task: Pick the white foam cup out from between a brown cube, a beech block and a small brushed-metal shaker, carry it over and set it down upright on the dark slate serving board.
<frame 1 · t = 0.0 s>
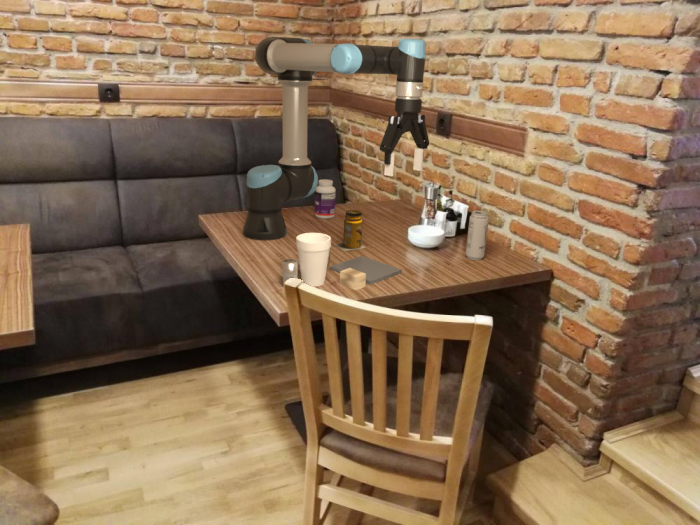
hand: (403, 172, 164), 28 cm above the table, fingers open, 13 cm apart
slate board: (365, 271, 165), on the table
metal shaker: (290, 285, 152), on the table
condiment: (349, 247, 186), on the table
pill bottle: (324, 217, 220), on the table
energy drink can: (474, 258, 180), on the table
foam cup: (313, 282, 155), on the table
brown cube: (318, 266, 167), on the table
beech block: (352, 285, 154), on the table
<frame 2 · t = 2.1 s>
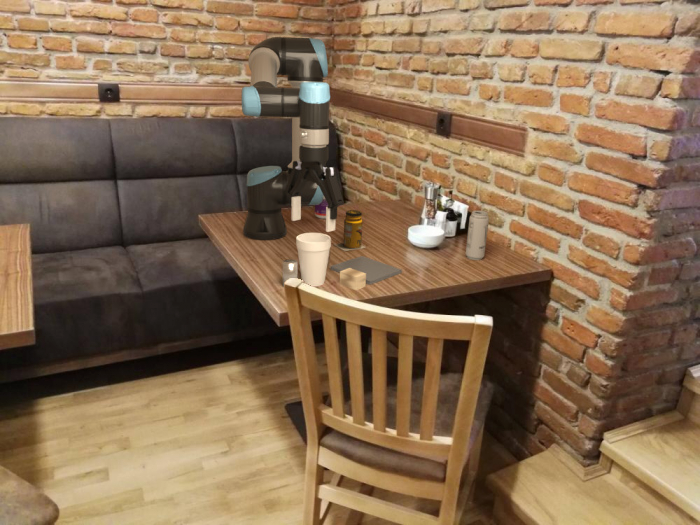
hand: (312, 225, 149), 17 cm above the table, fingers open, 13 cm apart
nothing on the table moved.
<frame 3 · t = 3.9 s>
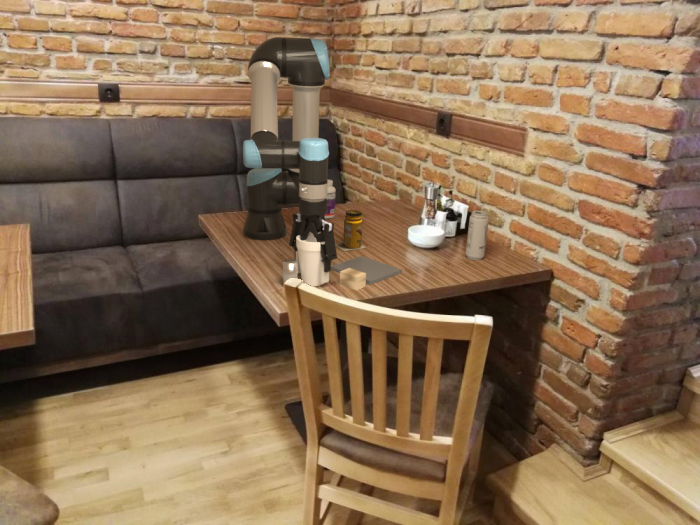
hand: (312, 277, 155), 2 cm above the table, fingers closed on foam cup, 9 cm apart
foam cup: (313, 282, 155), on the table, touching gripper
everything else where it was.
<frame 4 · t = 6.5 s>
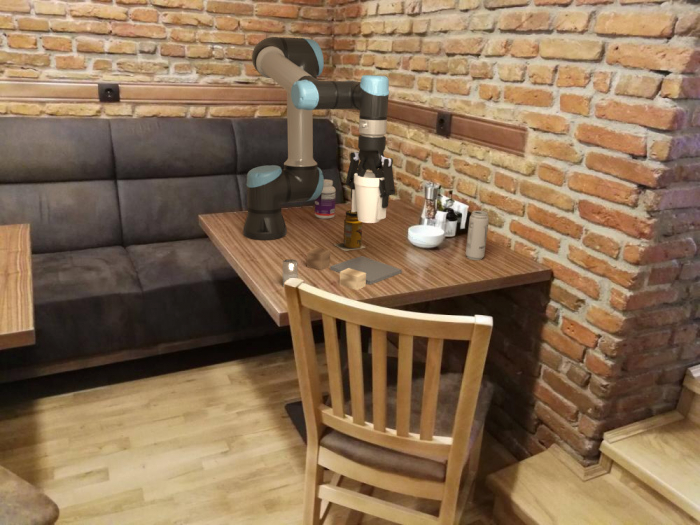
hand: (368, 214, 159), 17 cm above the table, fingers closed on foam cup, 9 cm apart
foam cup: (368, 220, 160), point 16 cm above the table, touching gripper
everything else where it was.
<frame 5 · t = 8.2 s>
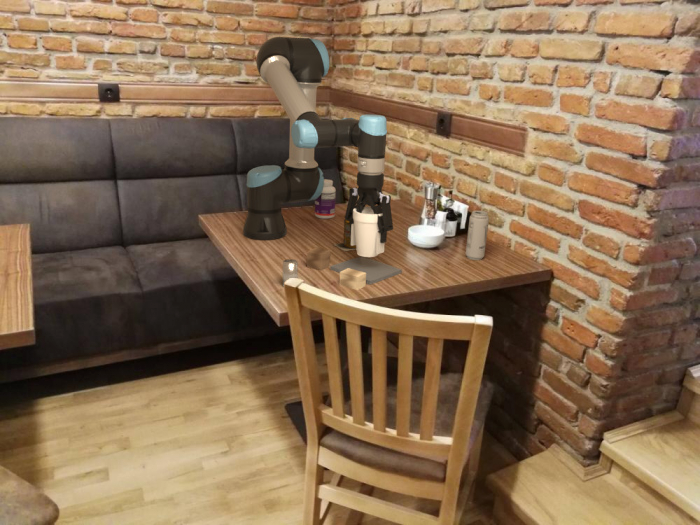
hand: (367, 248, 162), 7 cm above the table, fingers closed on foam cup, 9 cm apart
foam cup: (367, 254, 163), point 5 cm above the table, touching gripper
everything else where it was.
when the fingers open (4 cm above the table, at t = 9.4 s): foam cup drops 1 cm, resting on slate board.
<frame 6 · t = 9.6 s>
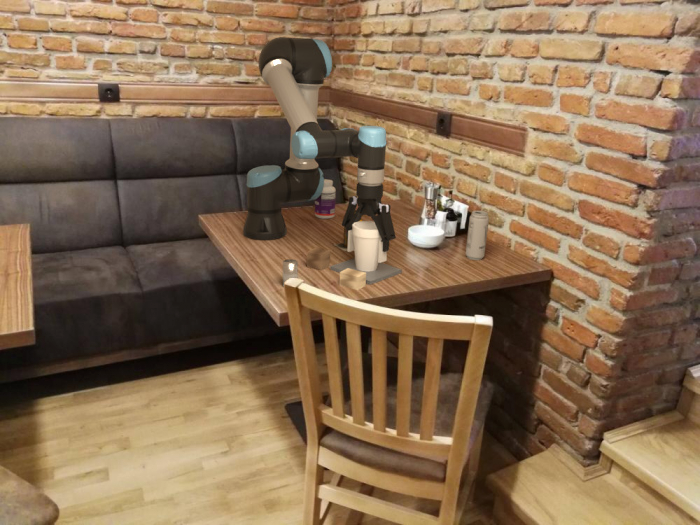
hand: (366, 256, 163), 5 cm above the table, fingers open, 11 cm apart
foam cup: (366, 267, 165), point 1 cm above the table, touching slate board
everything else where it was.
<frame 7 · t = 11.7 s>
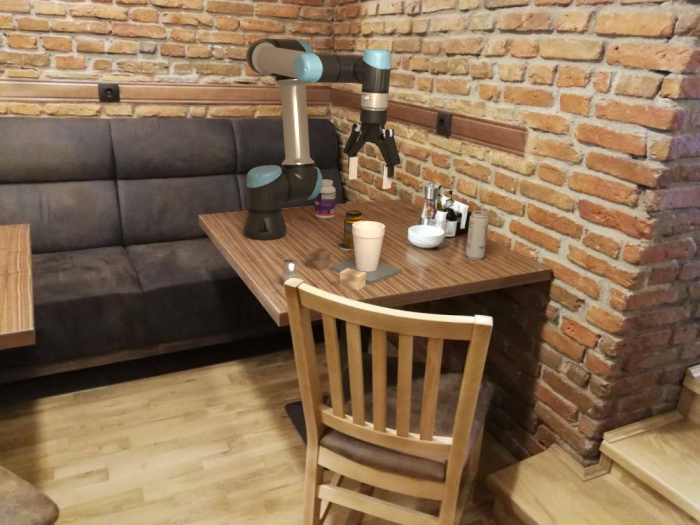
hand: (369, 183, 162), 25 cm above the table, fingers open, 13 cm apart
nothing on the table moved.
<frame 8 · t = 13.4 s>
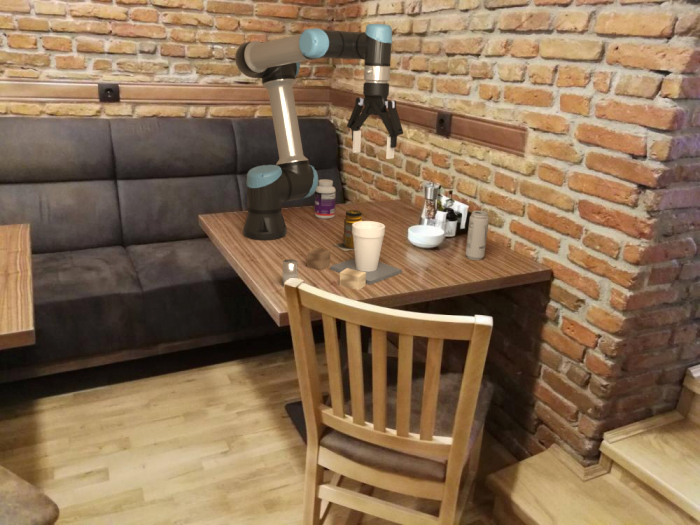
hand: (372, 155, 169), 32 cm above the table, fingers open, 13 cm apart
nothing on the table moved.
at the end: foam cup inside the target area on the slate board (0.3 cm from its centre), point 0.8 cm above the slate board's base; foam cup tilted 0°; the gripper is holding nothing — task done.
